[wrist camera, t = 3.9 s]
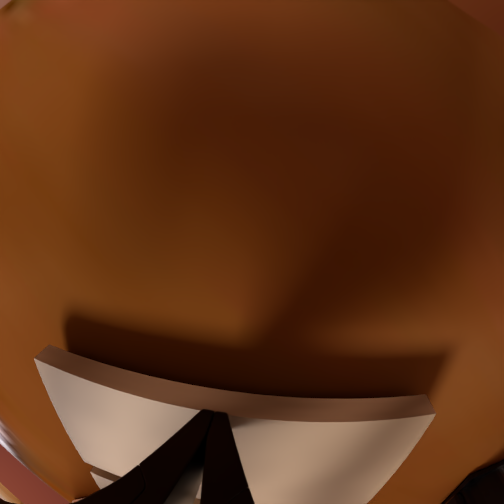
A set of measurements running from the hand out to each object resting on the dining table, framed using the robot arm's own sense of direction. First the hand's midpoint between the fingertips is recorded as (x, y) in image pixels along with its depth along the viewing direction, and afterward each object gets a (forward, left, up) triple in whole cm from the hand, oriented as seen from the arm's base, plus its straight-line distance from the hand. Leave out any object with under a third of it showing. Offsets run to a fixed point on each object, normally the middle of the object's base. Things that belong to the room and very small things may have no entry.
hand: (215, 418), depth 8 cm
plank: (0, +4, -1) cm, 4 cm away
